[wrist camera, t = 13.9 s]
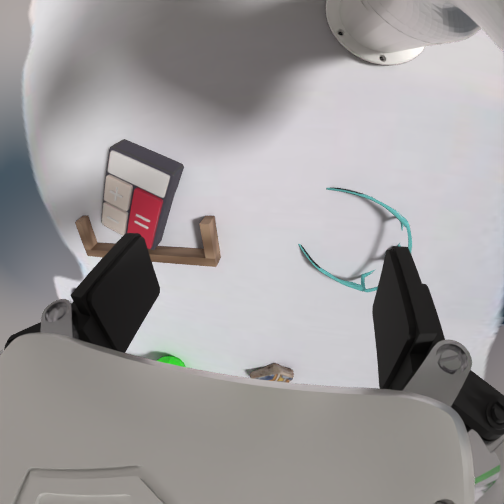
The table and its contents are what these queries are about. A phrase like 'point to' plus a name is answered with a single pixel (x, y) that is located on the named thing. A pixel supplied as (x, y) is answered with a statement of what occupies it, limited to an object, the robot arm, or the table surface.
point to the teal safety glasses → (362, 286)
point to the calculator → (139, 191)
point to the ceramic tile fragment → (273, 373)
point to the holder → (161, 253)
